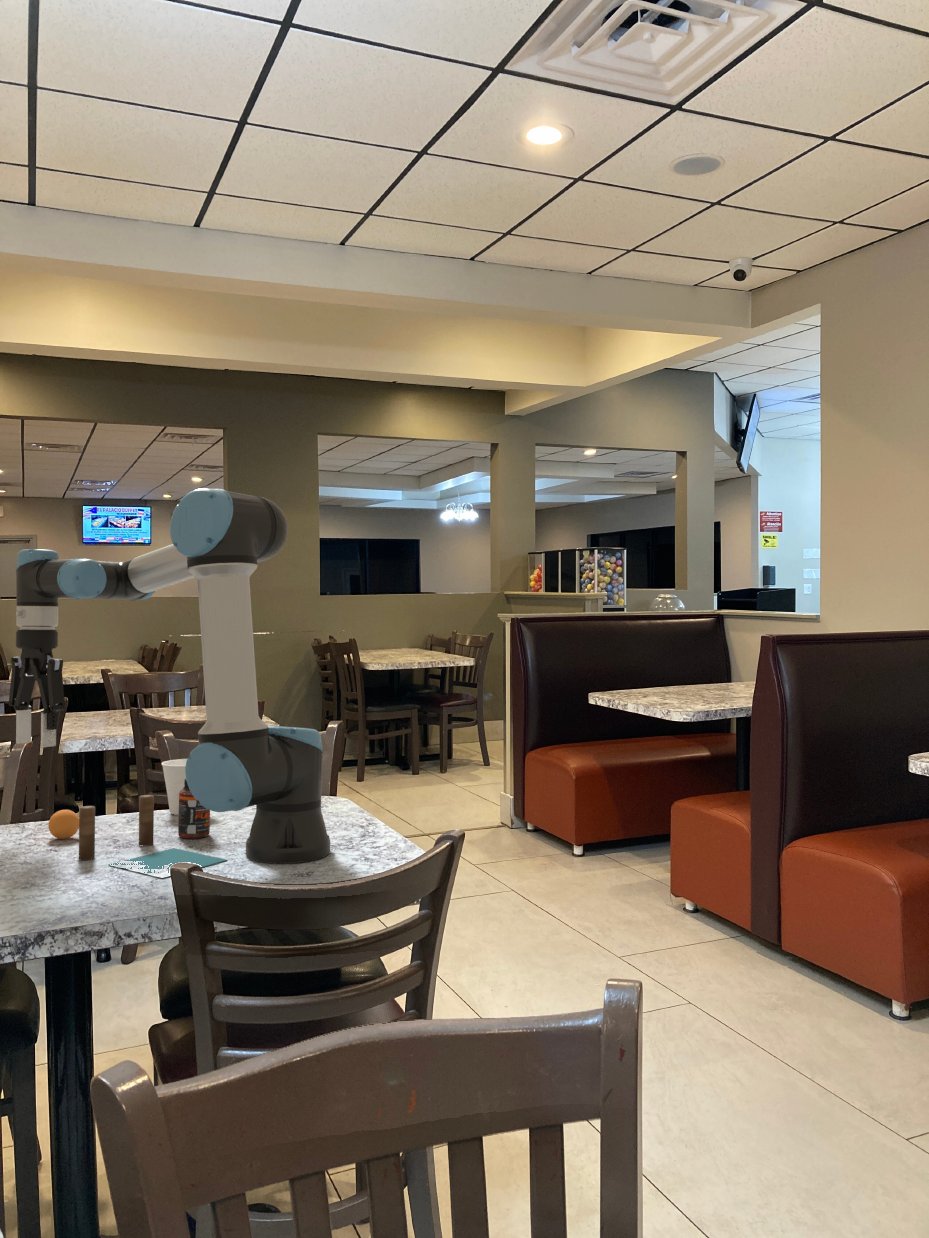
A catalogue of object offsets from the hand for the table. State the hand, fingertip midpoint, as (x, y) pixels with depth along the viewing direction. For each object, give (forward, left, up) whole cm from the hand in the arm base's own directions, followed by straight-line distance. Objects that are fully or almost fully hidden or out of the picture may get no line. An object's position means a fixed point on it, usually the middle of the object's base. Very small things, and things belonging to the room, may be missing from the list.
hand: (35, 744), depth 184 cm
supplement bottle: (-28, -16, -17) cm, 36 cm away
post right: (-26, -6, -17) cm, 31 cm away
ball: (-10, 0, -14) cm, 17 cm away
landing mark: (-40, 0, -17) cm, 43 cm away
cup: (-10, -29, -17) cm, 35 cm away
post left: (-26, +6, -17) cm, 31 cm away
